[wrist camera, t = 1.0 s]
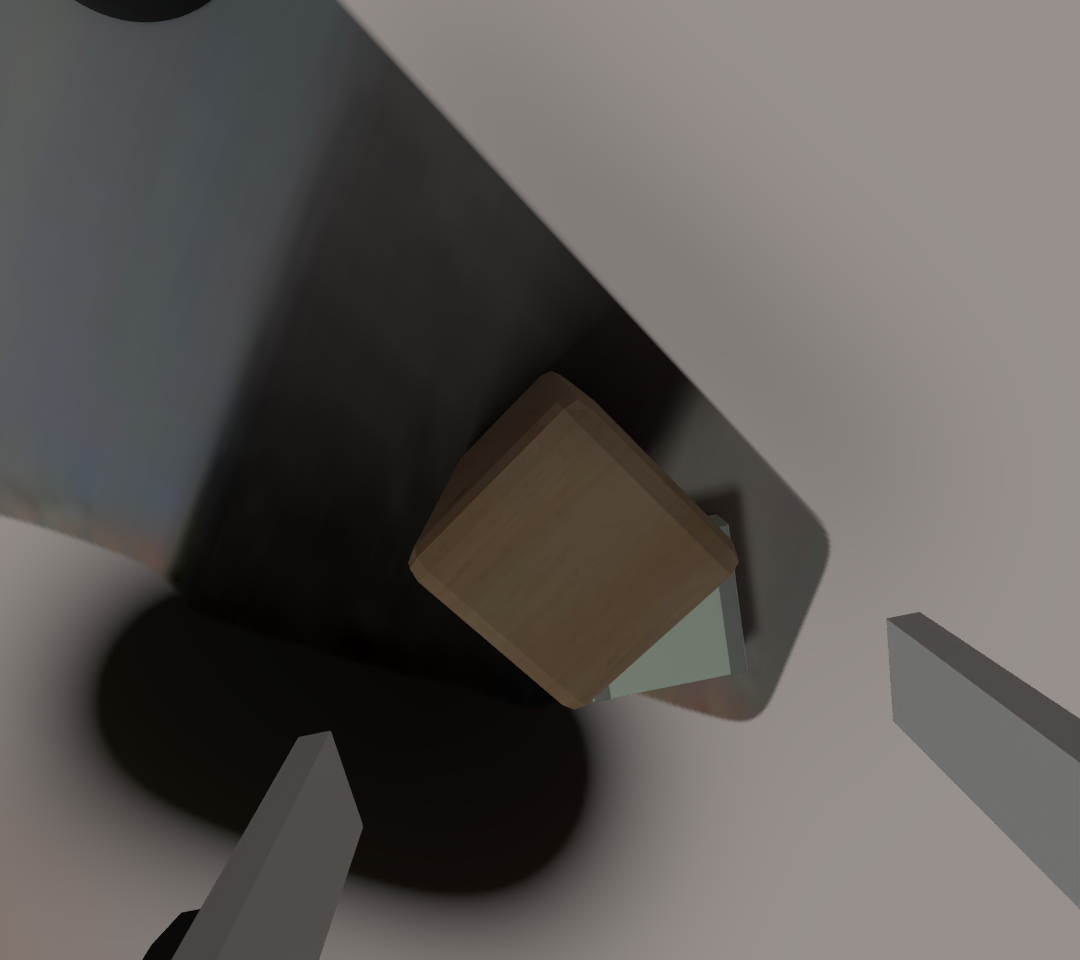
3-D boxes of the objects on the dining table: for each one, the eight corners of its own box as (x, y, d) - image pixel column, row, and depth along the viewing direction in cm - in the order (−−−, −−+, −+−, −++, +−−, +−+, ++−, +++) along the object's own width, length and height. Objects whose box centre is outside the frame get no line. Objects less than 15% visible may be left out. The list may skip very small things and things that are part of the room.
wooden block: (453, 464, 41) (392, 573, 21) (550, 364, 39) (578, 384, 20) (550, 553, 43) (575, 728, 23) (646, 461, 41) (758, 566, 22)
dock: (561, 546, 43) (563, 558, 40) (716, 513, 42) (728, 524, 40) (589, 682, 45) (593, 702, 43) (735, 653, 45) (748, 671, 43)
